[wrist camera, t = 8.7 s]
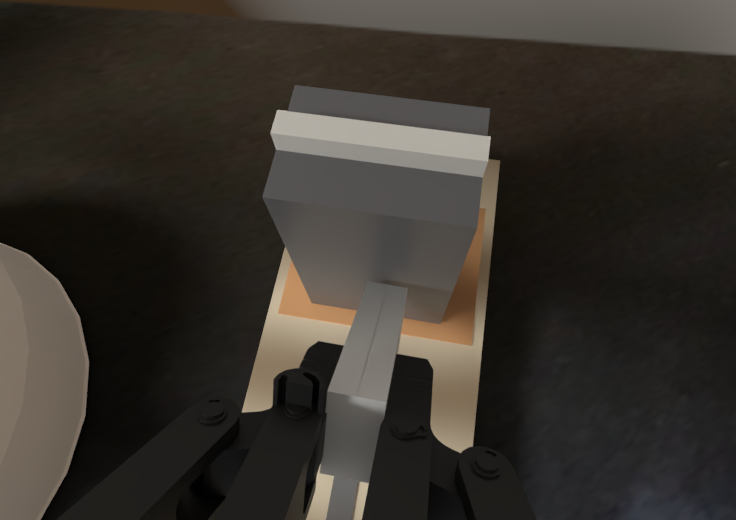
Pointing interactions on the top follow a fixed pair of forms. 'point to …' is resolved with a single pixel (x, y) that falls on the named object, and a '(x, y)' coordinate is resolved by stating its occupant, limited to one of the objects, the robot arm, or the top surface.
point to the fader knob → (377, 194)
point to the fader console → (418, 339)
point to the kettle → (37, 385)
